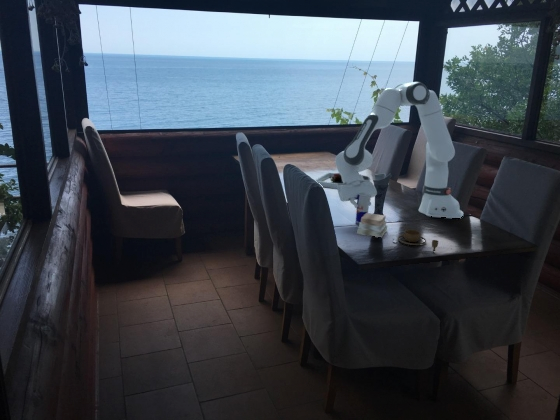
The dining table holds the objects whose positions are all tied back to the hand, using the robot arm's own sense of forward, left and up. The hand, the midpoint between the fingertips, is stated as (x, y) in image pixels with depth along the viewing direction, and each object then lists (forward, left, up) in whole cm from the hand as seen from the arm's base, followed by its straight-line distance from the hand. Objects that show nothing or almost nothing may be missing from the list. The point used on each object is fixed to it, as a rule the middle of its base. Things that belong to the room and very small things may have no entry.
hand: (363, 206), depth 234 cm
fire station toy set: (+33, -70, -9) cm, 78 cm away
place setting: (-28, +17, -10) cm, 34 cm away
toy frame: (+35, -72, -9) cm, 81 cm away
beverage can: (+1, 0, -9) cm, 9 cm away
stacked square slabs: (-7, +10, -9) cm, 15 cm away
